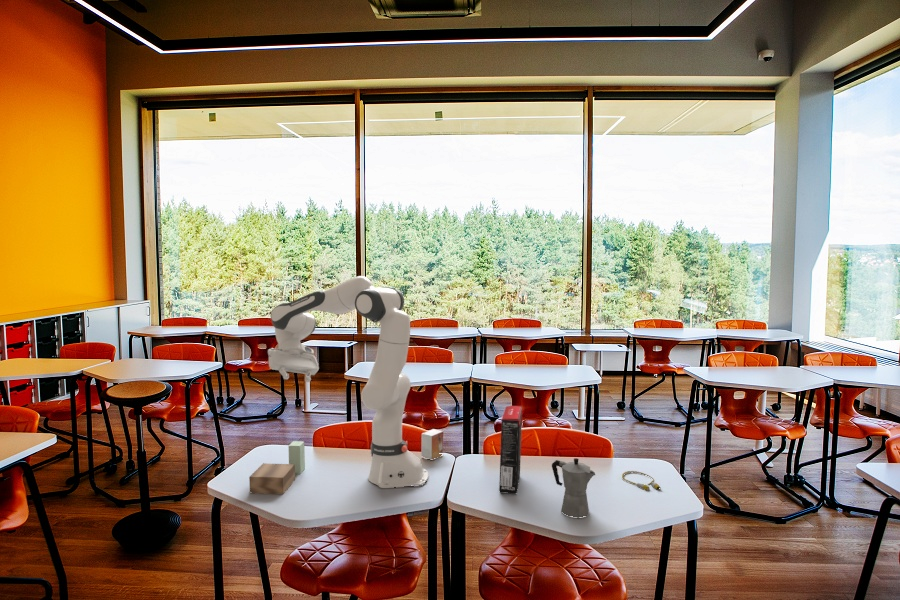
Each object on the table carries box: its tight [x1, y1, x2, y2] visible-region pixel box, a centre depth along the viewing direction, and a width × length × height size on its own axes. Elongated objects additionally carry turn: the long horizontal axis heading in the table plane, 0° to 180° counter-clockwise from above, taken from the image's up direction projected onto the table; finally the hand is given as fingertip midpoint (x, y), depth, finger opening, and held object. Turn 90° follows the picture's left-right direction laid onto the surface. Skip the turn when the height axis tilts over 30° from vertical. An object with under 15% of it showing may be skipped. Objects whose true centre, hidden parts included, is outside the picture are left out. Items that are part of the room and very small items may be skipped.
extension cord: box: [621, 470, 661, 491], centre depth 200 cm, size 12×16×2 cm
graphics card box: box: [498, 405, 523, 494], centre depth 196 cm, size 17×7×27 cm, turn 169°
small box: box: [420, 428, 444, 460], centre depth 223 cm, size 8×6×10 cm
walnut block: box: [248, 462, 296, 495], centre depth 194 cm, size 12×12×6 cm
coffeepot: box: [551, 458, 596, 517], centre depth 176 cm, size 15×9×18 cm, turn 50°
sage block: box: [288, 440, 306, 475], centre depth 208 cm, size 4×5×11 cm
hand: (297, 379), depth 206 cm, fingers open, 8 cm apart
